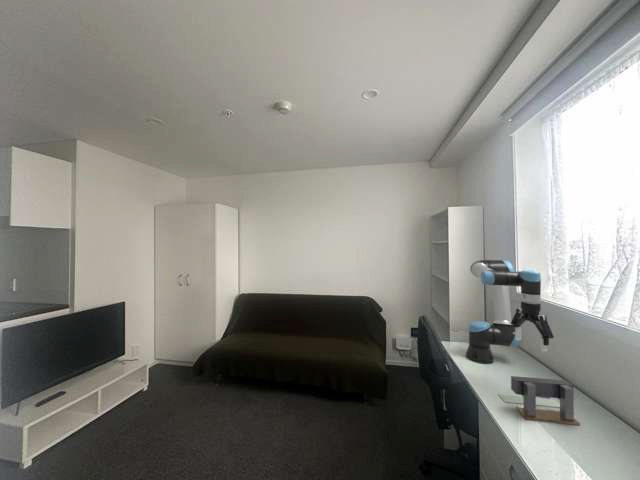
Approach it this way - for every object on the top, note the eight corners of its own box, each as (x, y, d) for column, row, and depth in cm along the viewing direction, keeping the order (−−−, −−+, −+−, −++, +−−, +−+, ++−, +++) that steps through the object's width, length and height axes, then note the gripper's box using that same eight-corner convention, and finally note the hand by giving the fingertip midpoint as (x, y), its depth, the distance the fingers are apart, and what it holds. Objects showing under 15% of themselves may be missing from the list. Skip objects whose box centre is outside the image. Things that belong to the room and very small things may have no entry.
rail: (511, 389, 117) (511, 376, 117) (566, 394, 113) (566, 380, 113) (516, 394, 113) (516, 380, 113) (573, 399, 109) (573, 385, 110)
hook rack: (511, 405, 118) (511, 374, 118) (561, 410, 115) (560, 378, 115) (525, 419, 108) (525, 386, 109) (580, 425, 105) (579, 391, 105)
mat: (498, 394, 126) (498, 393, 126) (553, 399, 122) (553, 398, 122) (505, 402, 120) (505, 401, 120) (563, 408, 116) (563, 407, 116)
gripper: (502, 296, 137) (502, 336, 138) (549, 309, 113) (549, 357, 113) (515, 296, 138) (515, 335, 138) (564, 308, 113) (564, 356, 114)
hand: (530, 345), depth 126 cm, fingers open, 13 cm apart
